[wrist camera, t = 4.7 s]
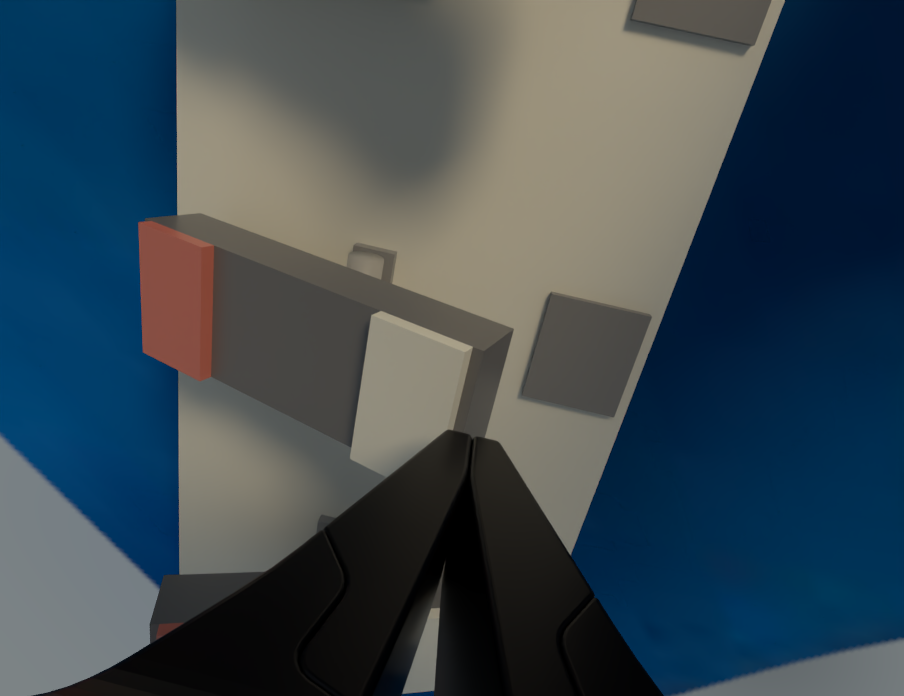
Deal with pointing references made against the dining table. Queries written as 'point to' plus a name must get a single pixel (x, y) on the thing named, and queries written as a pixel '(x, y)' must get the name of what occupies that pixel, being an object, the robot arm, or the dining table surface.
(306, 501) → the panel
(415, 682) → the rocker
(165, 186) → the dining table surface
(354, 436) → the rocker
